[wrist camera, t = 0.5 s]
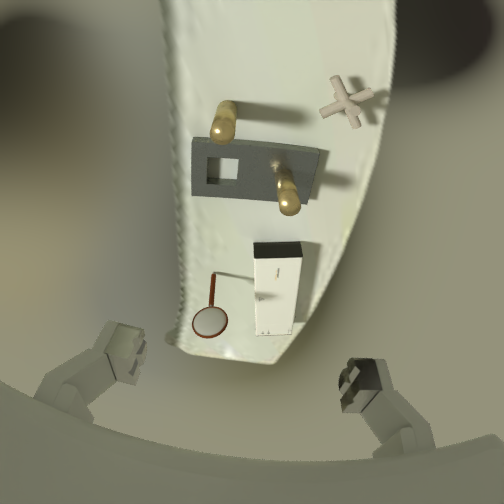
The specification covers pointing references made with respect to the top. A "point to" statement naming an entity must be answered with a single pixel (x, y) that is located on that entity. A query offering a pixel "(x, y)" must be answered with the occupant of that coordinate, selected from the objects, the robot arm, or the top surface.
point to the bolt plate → (257, 172)
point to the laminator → (276, 286)
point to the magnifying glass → (210, 317)
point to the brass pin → (224, 123)
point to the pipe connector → (346, 102)
